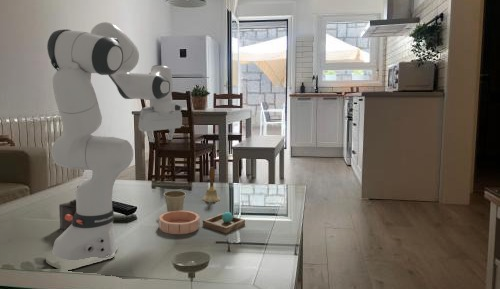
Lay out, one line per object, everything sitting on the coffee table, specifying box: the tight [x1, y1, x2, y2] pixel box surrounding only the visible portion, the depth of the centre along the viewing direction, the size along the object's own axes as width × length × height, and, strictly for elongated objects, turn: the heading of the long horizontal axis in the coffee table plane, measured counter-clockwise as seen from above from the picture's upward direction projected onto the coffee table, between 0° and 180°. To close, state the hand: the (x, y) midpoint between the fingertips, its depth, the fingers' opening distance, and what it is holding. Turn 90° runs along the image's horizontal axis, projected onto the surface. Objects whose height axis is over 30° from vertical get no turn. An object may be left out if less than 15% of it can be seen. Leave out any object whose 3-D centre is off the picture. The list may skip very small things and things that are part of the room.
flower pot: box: [163, 190, 187, 212], centre depth 180 cm, size 9×9×9 cm
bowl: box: [158, 210, 201, 235], centre depth 165 cm, size 16×16×4 cm
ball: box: [222, 211, 233, 223], centre depth 170 cm, size 4×4×4 cm
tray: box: [202, 212, 246, 234], centre depth 168 cm, size 12×12×2 cm
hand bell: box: [202, 166, 221, 203], centre depth 200 cm, size 8×8×16 cm
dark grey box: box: [58, 185, 79, 231], centre depth 157 cm, size 16×11×18 cm
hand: (160, 140), depth 171 cm, fingers open, 8 cm apart
